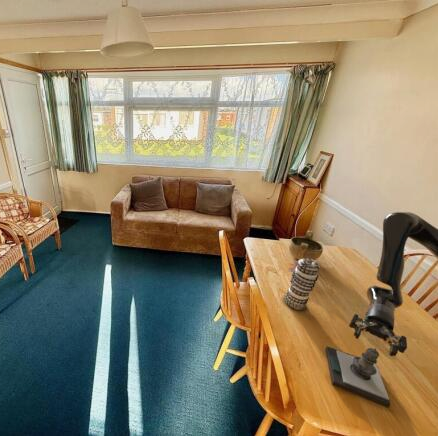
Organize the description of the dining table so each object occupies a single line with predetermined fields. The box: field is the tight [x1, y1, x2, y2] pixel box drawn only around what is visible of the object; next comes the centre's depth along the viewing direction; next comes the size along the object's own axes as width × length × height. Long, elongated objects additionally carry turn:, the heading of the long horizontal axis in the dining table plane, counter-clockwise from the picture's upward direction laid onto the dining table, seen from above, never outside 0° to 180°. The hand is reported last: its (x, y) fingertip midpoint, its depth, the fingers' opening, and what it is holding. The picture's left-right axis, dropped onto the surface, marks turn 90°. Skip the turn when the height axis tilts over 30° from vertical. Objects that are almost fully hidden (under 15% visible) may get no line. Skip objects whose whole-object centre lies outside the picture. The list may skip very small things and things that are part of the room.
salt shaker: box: [350, 347, 380, 380], centre depth 74 cm, size 6×6×12 cm
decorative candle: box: [284, 258, 321, 311], centre depth 102 cm, size 9×9×25 cm
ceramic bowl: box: [288, 230, 324, 261], centre depth 138 cm, size 22×17×15 cm
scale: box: [324, 346, 392, 409], centre depth 77 cm, size 14×14×4 cm
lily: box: [287, 258, 298, 273], centre depth 125 cm, size 12×12×10 cm
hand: (374, 345), depth 76 cm, fingers open, 8 cm apart
